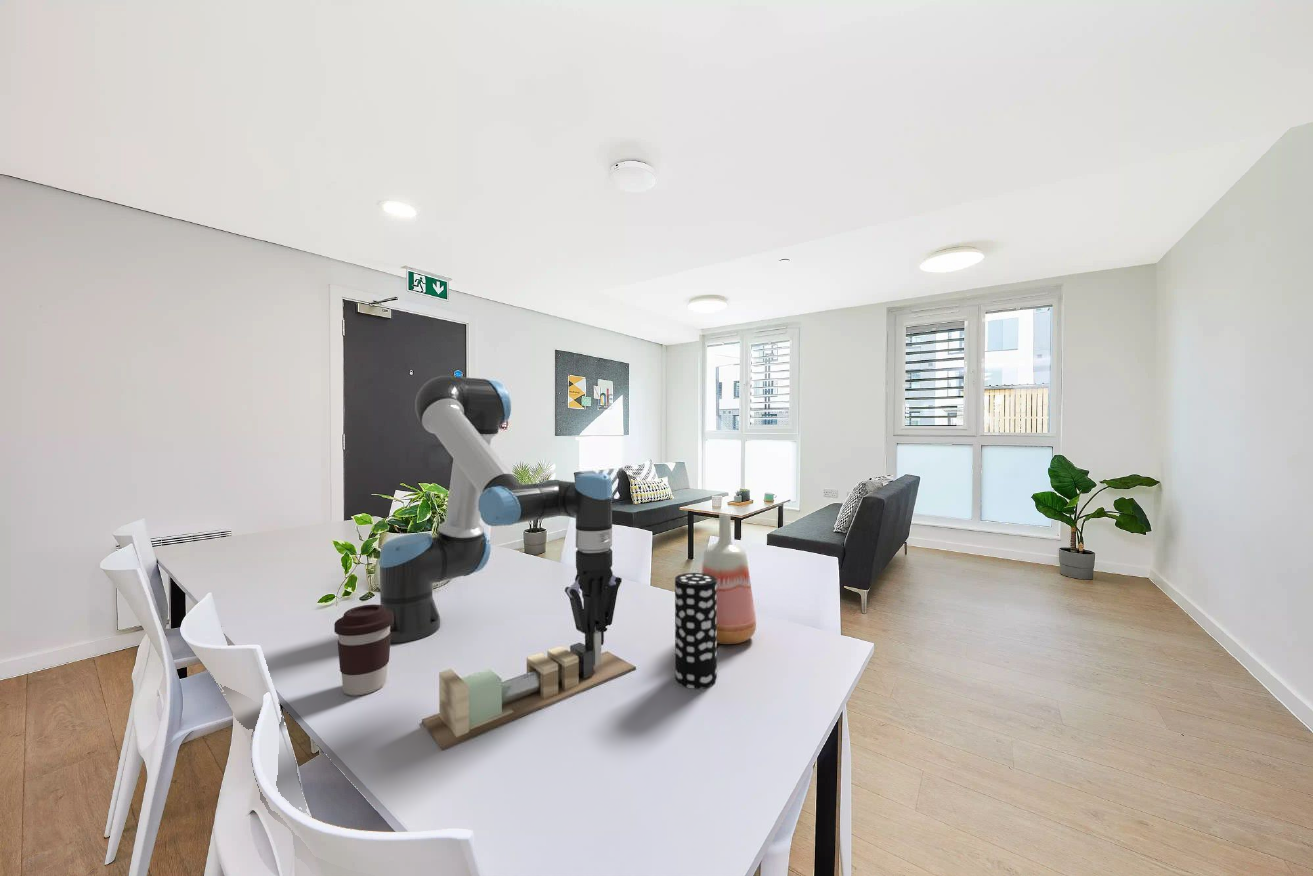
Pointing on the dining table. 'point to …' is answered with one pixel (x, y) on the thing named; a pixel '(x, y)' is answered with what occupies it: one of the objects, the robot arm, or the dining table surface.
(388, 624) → the coffee cup
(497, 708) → the block
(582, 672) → the shaft
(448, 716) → the jig
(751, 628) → the vase
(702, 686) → the spotted tube
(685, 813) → the dining table surface
